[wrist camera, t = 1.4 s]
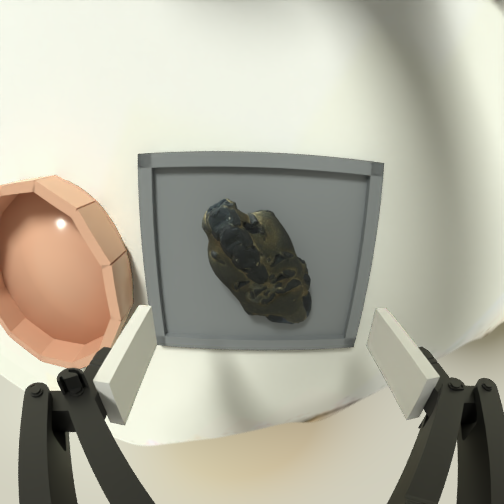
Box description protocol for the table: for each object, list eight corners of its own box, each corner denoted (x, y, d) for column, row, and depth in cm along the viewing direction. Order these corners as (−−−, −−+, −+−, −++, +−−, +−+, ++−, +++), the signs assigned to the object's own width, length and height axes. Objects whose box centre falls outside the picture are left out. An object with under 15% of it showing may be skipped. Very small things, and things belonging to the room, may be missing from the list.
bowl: (-14, 185, 23) (-37, 192, 19) (124, 168, 23) (103, 172, 19) (19, 333, 29) (3, 349, 26) (146, 356, 30) (135, 380, 26)
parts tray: (142, 153, 23) (137, 154, 22) (378, 162, 24) (384, 163, 22) (157, 338, 29) (155, 344, 28) (350, 340, 30) (353, 346, 28)
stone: (268, 331, 28) (272, 367, 24) (182, 222, 24) (167, 242, 20) (328, 296, 27) (344, 327, 22) (250, 175, 23) (252, 184, 18)
